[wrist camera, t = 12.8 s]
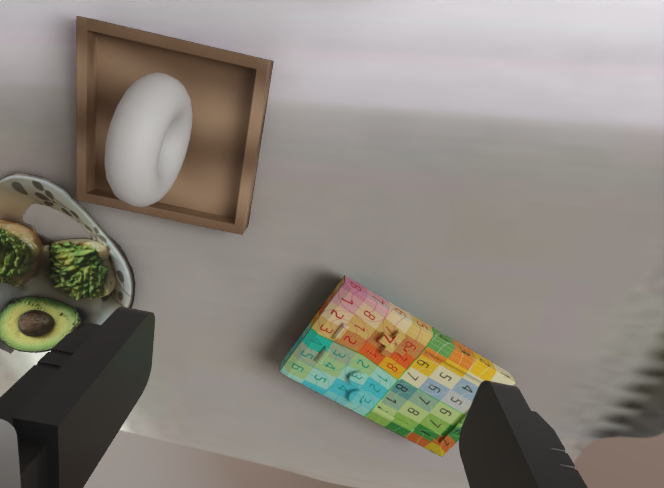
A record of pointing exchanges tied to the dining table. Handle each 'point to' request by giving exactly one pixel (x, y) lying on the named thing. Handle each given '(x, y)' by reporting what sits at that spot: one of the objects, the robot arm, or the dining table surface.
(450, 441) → the puzzle game
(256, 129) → the display tray
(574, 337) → the dining table surface
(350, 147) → the dining table surface
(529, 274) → the dining table surface
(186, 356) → the dining table surface
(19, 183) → the salad plate
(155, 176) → the white ring
